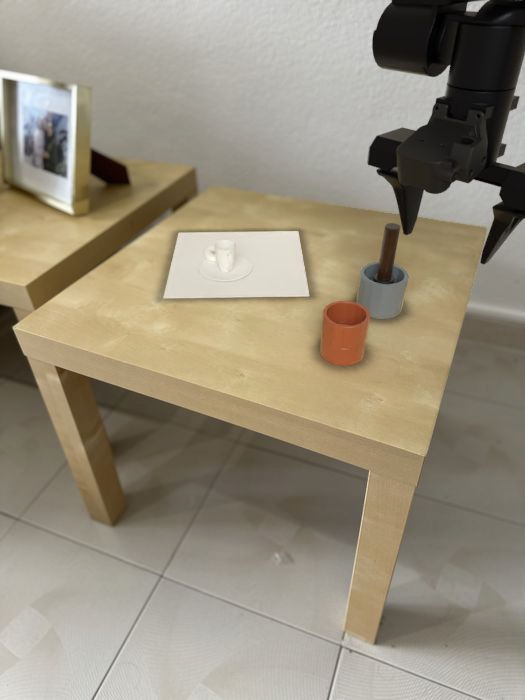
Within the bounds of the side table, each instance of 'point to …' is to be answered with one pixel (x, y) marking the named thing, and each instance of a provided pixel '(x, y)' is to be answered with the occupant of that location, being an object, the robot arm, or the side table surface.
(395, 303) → the cup
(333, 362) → the holder
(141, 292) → the side table surface
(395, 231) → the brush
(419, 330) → the side table surface
